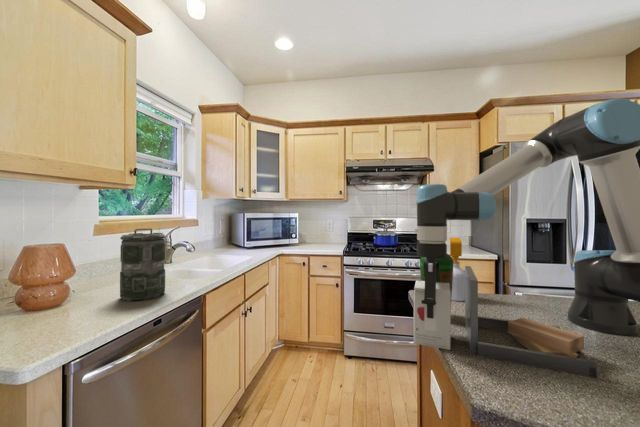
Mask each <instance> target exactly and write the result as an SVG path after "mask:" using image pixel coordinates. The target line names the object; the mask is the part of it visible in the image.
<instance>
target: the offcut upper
mask: <svg viewBox="0 0 640 427" xmlns="http://www.w3.org/2000/svg"><path fill="white" fill-rule="evenodd" d="M553 326H554V325H551V326H550V324H545V323H543V322H539V321H536V320H532V319H530V318H526V317H521V318H516V319H514V320H513V321H509V322H508V331H507V333H508V334H509V335H512V336H513V335H515V336H517V337H520V338H523V339H526V340H528V341H531V342H534V343H537V344H540V345H542V346H545V347H548V348H551V349H553V350H556V351H559V352H562V353H564V354H567V355H571V354H573V353H575V352H577V351H580V352H581V351H582V350H583V349H584V348H585V346H584V345H585V335H582V334H580V333H579V334H578V333H576V332H572V331H569V330H565V329H563V328H561V327H560V328H561V329H560V328H556V327H553Z"/></svg>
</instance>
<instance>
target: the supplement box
mask: <svg viewBox="0 0 640 427" xmlns="http://www.w3.org/2000/svg"><path fill="white" fill-rule="evenodd" d="M413 290H414V291H413V344H415V345H420V346H425V347H430V348H438V349H443V350H448V351H450V350H451V318H452V315H451V312H452V311H451V310H452V309H451V308H452V300H451V291H450V285H449V283H439V282H436V331H430V330H424V304H422V300H424V295H425V281H421V280H418V279H417V280H416V281H415V284H414V287H413ZM427 299H433V298H427Z"/></svg>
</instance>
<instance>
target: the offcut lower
mask: <svg viewBox="0 0 640 427" xmlns="http://www.w3.org/2000/svg"><path fill="white" fill-rule="evenodd" d="M512 338H514V339H515V340H516V341H517V342H518V343H520V345H522V346H523V347H524V348H526V350H532V351H538V352H544V353H550V354H557V355H563V356H569V357H575V358H578V354H577V353H576V352H575V353H573V354H571V355H567V354H564V353H562V352H559V351H556V350H553V349H551V348H548V347H545V346H542V345H540V344H537V343H534V342H531V341H528V340H526V339H523V338H520V337H517V336H515V335H512Z"/></svg>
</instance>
